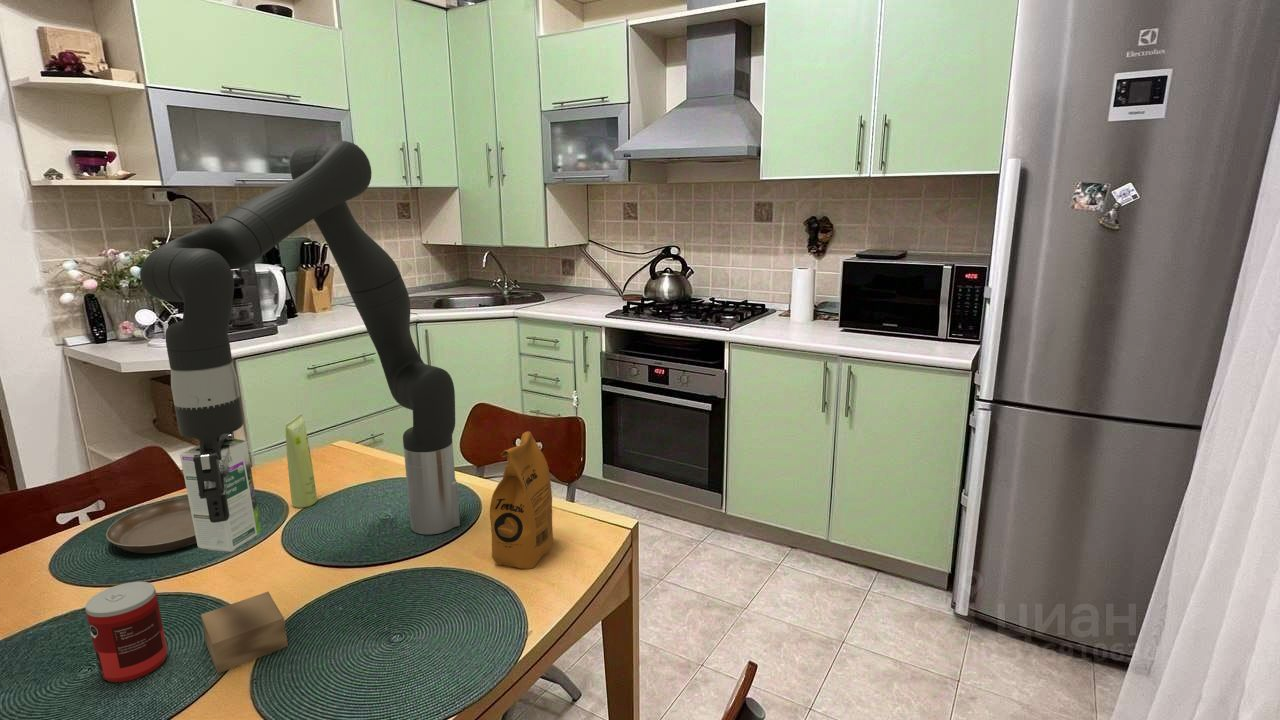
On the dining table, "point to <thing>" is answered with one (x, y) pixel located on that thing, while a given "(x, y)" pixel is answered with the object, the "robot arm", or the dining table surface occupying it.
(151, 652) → the canned food
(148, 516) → the plant saucer
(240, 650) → the base block
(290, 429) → the tube
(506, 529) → the coffee package
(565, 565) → the dining table surface
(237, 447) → the syrup box
